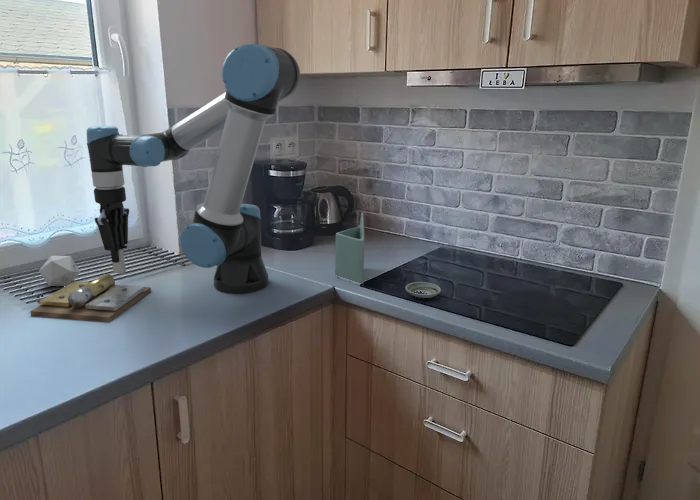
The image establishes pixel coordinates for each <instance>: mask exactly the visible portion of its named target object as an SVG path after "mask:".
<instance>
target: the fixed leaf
mask: <svg viewBox="0 0 700 500" xmlns="http://www.w3.org/2000/svg"><path fill="white" fill-rule="evenodd" d="M115 285H116V286H114V287H113V288H111V289H109V290H108V291H106V292H105V293H103V294H102V295H100V296H98V297H97V298H95V299H94V300H92V299H93V292H92V290H91V289H90V288H88V287H81V288H79V289H78V290H76V291H74V292H72V293H71V294H69V296H68V301H69V303H70V305H71V306H73V307H75V308H80V307H82V306H83V305H85V304H86V303H87V304H86V305H85V307H86V309H97V310H109V311H116V310H117V309H119V308H120V307H122V306H123V305H124V304H126V303H127V302H129V301H130V300H131V299H133V298H134V297H136V296H137V295H138V294H140V293H141V292H143V291H144V287H145V286H143V285H127V284H115ZM91 300H92V301H91ZM88 302H89V303H88Z"/></svg>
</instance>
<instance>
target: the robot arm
mask: <svg viewBox="0 0 700 500" xmlns="http://www.w3.org/2000/svg"><path fill="white" fill-rule="evenodd" d="M221 77H222V82H223V83H224V87H225V89H226V91H225V92H223V93H222V94H220V95H219V96H217V97H216V98H214V99H212V100H210V101H209V102H208V103H207V104H205V105H203V106H202V107H200V108H199V109H197V110H195V111H194V112H192V113H191V114H189V115H188V116H185V118H183V119H181V120H180V121H178V122H177V123H174V125H172V126H171V127H169V128H166V129H165V130H164V131H162V132H157V133H147V134H139V135H138V134H135V135H133V134H132V135H128V134H127V135H124V134H120V133H119V128H118V127H116V126H113V125H112V126H111V125H98V126H90V127H88V128H87V129H86V146H87V151H88V156H89V157H88V158H89V162H90V171H91V178H92V185H93V187H94V189H93V194H94V202H95V203H97V204H99V213H100V215H99V216H98V217H95V218H94V223H95V224H96V225H97V227H98V230H99V231H98V232H99V234H100V237H101V242H102V245H103V248H104V250H105V251H108V252H110V257H111V263H112V273H113V274H125V273H126V272H127V271H126V262H125V252H124V249H127V248H128V244H129V214H130V208H125V207H124V202H126V200H127V194H126V188H125V186H124V185H126V184H125V175H124V168H123V167H124V166H131V167H132V166H135V167H143V168H147V167H157V166H159V165H160V164H161V163H163V162H168V161H177V160H180V159H182V158H185V157H186V156H187V155H189V152H190V151H191V150H192V149H194V148H195V147H197V146H199V145H201V144H202V143H204V142H205V141H207V140H209V139H210V138H212V137H213V136H215V135H217V134H218V133H221V132H222V134H221V138H220V142H219V146H218V149H217V151H216V156H215V160H214V161H215V162H214V165H213V168H212V172H211V177H210V180H209V184H208V187H207V191H206V195H205V198H204V202H202V203H200V204H197V206H196V208H195V212H194V215H193V219H192V222H191V223H189V224H187V225H185V227H184V228H183V230H182V231H181V233H180V235H179V236H180V238H179V243H180V248H181V250H182V252H183V253H184V254H185V255H184V256H186V257H185V258H187V260H188V261H190V262H191V263H192V264H194V265H195V266H197V267H200V268H206V269H207V268H213V267H215V266H216V269H215V271H214V276H213V286H214V288H215V289H216V290H218V291H220V292H223V293H229V294H247V293H253V292H256V291H260V290H263V289H264V288H266V287H267V286H268V285H269V274H268V271H267V268H266V266H265V263H264V260H263V256H262V224H261V223H262V217H261V209H260V208H259V206H258V205H255V204H251V203H250V204H249V203H243V199H244V197H245V193H246V189H247V186H248V183H249V180H250V176H251V172H252V169H253V165H254V162H255V159H256V155H257V152H258V149H259V145H260V141H261V138H262V134H263V131H264V128H265V124H266V122H267V120H268V119H269V118H271V117H273V116H275V114H276V111H277V107H278V104H279V102H281V101H283V100H285V99H287V98H289V97H290V96H291V95H293V93H295V91H296V90H297V88H298V87H299V84H300V80H301V70H300V66H299V63H298V61H297V59H296V58H295V57H294V56H293V55H292V54H291V53H290V52H289V51H287V50H285V49H283V48H279V47H272V46H268V45H265V44H260V43H245V44H241V45H238V46H237V47H234V48H233V49H232V50H231V51H230V52H229V53H228V54H227V56H226V57H225V59H224V62H223V64H222V69H221Z"/></svg>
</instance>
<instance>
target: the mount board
mask: <svg viewBox="0 0 700 500" xmlns="http://www.w3.org/2000/svg"><path fill="white" fill-rule="evenodd" d="M116 285H117V284H115V285H114V286H116ZM114 286H113V287H114ZM113 287H112V288H113ZM143 287H144V291H143V292H141V293H140V294H138V295H137V296H136V297H134V298H133V299H131V300H130V301H129V302H127V303H126V304H124V305H123V306H122V307H120V308H119V309H117V310H116V311H109V310H97V309H86V307H85V305H86V304H87V303H86V304H85V305H83V306H82V307H80V308H75V307H73V306H69V307H65V306H52V305H40V304H39V306H37V307H35V308H33V309H31V310H30V316H34V317H43V318H54V319H55V318H56V319H67V320H68V319H69V320H81V321H95V322H107V323H110V322H111V321H113V320H114V319H115V318H117V317H119V316H120V315H121V314H122V313H123V312H125V311H126V310H128V309H129V308H130V307H132V306H133V305H134V304H135V303H137V302H138V301H140V300H142V299H143V298H144V297H146V296H147V295H148V294H150V293H151V291H152V288H151V287H150V286H143ZM110 289H111V288H110ZM107 291H108V290H107ZM104 293H105V292H104ZM102 294H103V293H102ZM102 294H101V295H102ZM99 296H100V295H99ZM96 298H97V297H96ZM94 299H95V298H94ZM94 299H93V300H94ZM91 301H92V300H91ZM88 303H89V302H88Z"/></svg>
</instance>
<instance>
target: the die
mask: <svg viewBox="0 0 700 500" xmlns="http://www.w3.org/2000/svg"><path fill="white" fill-rule="evenodd" d="M38 272H39V273H40V275H41V276H42V278H43V279H44V282H46V284H47V285H48V287H49V286H67V285H69V284H71V283H73V282H75V281H76V278H77V277H78V276H79V275H80V273H81V270H80V269H79V267H78V266H77V264H76V263H75V261H74V259H73V258H72V256H71V255H50V257H48V259H47V260H46V261H45V263H44V264H42V266H41V268H40V269H39V270H38Z"/></svg>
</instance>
